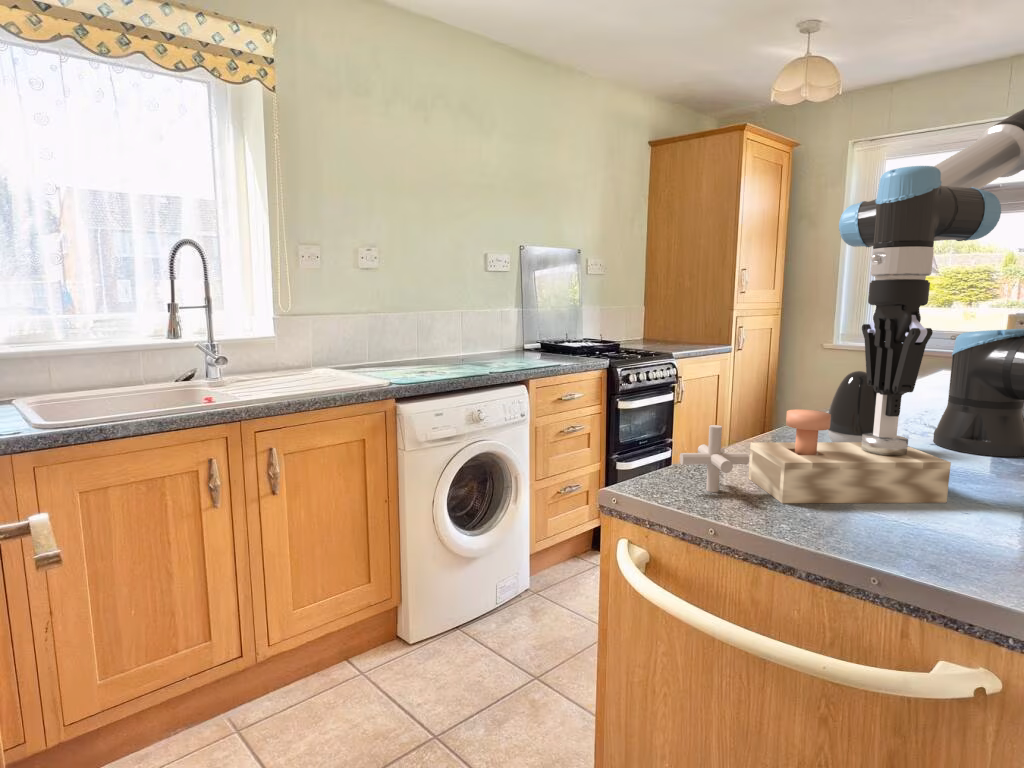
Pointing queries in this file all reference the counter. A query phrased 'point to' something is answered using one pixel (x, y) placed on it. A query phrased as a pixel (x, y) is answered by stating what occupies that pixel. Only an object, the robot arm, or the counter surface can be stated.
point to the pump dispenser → (852, 409)
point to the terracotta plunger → (807, 428)
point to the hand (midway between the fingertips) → (884, 435)
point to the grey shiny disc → (884, 444)
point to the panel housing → (847, 474)
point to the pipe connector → (714, 458)
